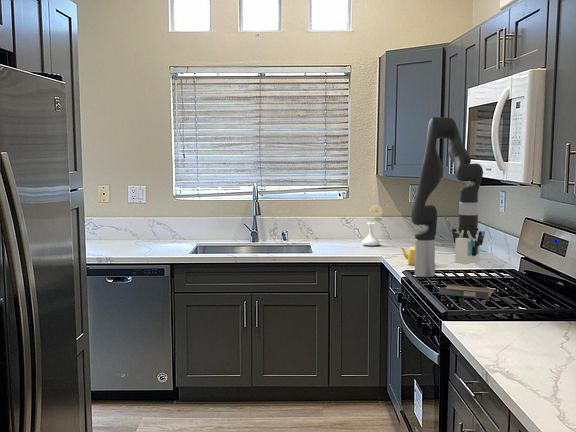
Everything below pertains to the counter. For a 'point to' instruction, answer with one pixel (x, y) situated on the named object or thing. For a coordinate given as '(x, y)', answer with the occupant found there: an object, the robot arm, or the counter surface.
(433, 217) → the robot arm
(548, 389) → the counter surface
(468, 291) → the shelf plank
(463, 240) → the carton
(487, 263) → the counter surface
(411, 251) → the teapot
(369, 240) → the flower in vase
